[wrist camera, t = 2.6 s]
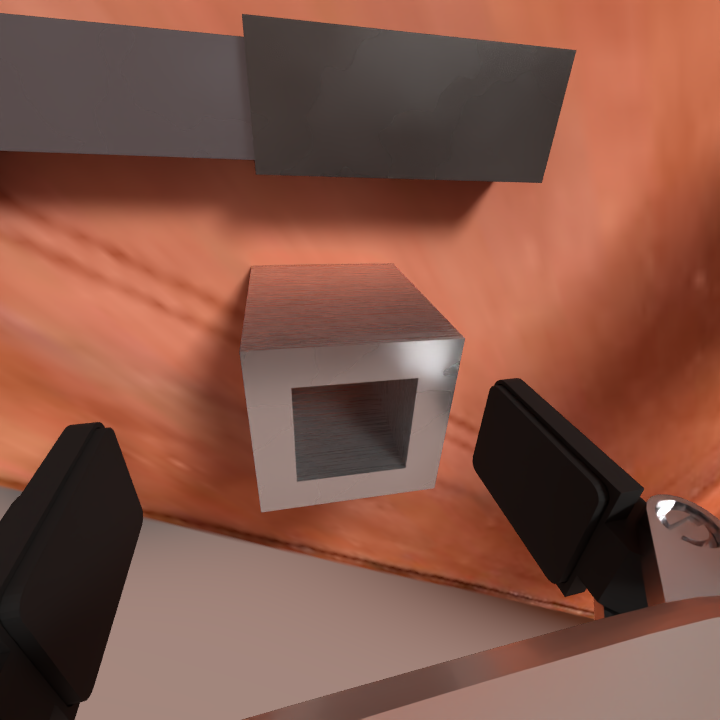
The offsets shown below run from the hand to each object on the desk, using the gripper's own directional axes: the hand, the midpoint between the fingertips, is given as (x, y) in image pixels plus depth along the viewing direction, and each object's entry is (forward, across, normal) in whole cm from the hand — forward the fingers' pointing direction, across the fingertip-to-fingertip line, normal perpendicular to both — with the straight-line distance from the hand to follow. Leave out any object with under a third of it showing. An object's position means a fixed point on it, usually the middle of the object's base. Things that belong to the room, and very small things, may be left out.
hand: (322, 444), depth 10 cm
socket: (+6, -1, 0) cm, 6 cm away
